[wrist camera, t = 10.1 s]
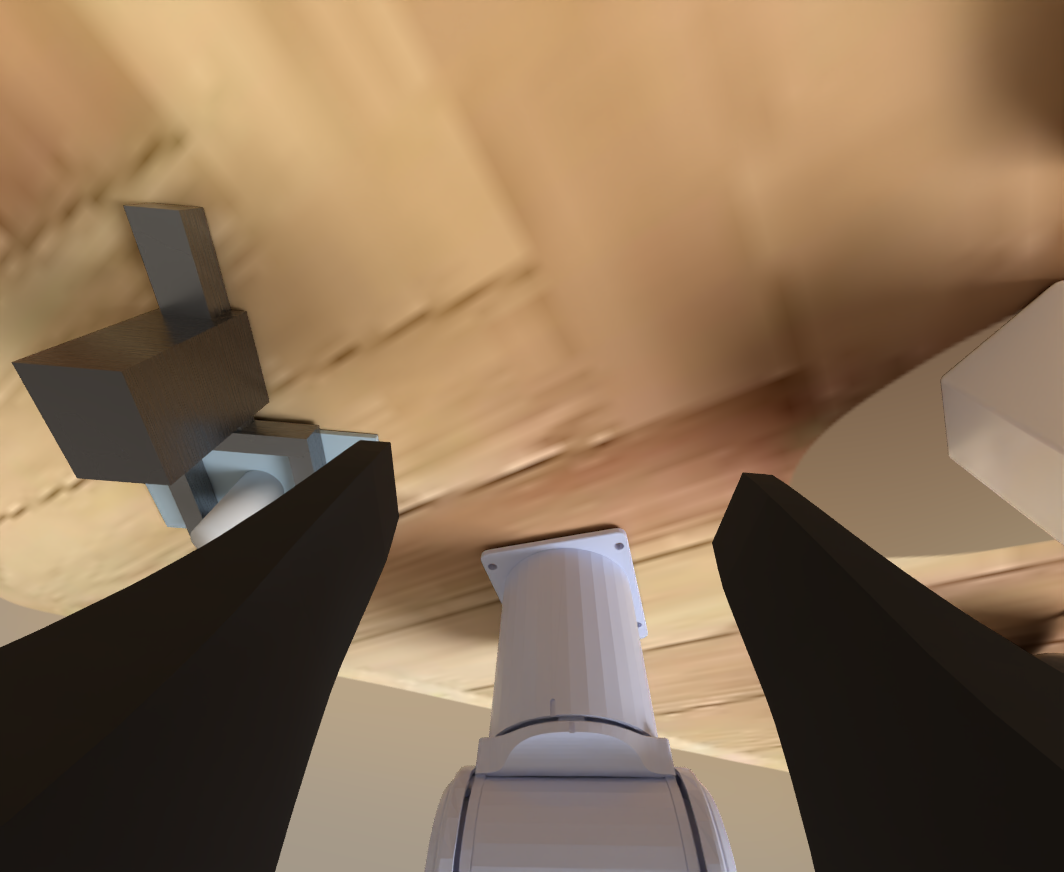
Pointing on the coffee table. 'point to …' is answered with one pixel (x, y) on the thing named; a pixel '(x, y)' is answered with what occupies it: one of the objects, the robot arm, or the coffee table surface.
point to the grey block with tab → (166, 377)
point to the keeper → (244, 485)
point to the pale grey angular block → (1015, 411)
